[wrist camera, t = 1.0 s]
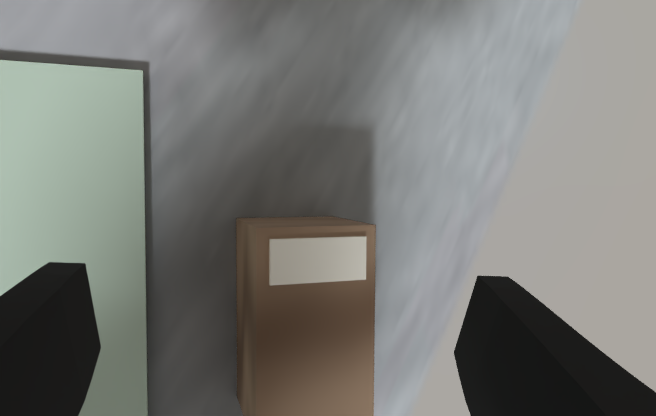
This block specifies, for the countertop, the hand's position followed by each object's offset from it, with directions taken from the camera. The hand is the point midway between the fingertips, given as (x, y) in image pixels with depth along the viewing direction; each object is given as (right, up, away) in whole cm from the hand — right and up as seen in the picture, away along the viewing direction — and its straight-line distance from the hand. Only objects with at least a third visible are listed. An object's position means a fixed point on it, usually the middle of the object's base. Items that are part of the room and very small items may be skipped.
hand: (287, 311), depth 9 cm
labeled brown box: (-1, -2, +13) cm, 14 cm away
